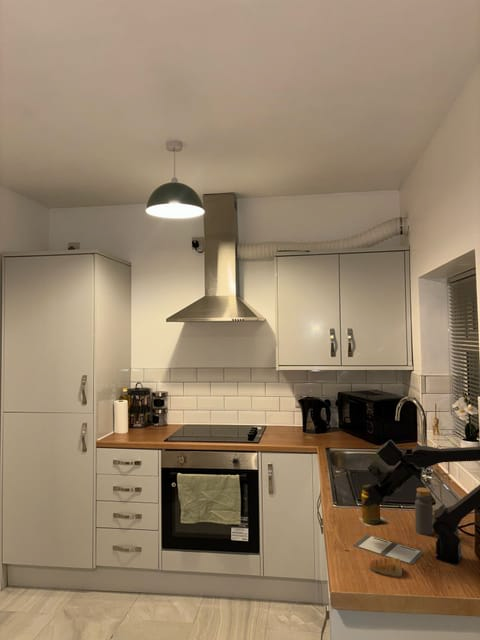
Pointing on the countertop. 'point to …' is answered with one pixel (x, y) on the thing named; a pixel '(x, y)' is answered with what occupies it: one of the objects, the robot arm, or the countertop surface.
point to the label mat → (389, 549)
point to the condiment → (371, 511)
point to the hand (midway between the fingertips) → (368, 501)
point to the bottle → (423, 512)
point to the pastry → (387, 566)
